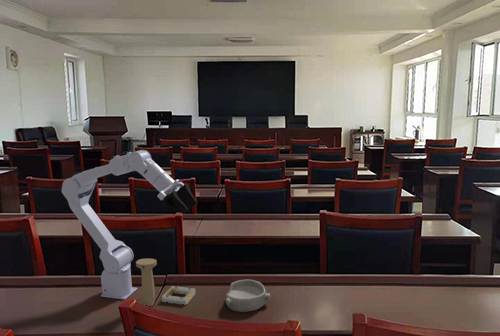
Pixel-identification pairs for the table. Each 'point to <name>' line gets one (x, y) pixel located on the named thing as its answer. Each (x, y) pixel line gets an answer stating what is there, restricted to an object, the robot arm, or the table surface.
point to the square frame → (179, 290)
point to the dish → (246, 295)
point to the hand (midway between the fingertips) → (190, 208)
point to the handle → (147, 280)
